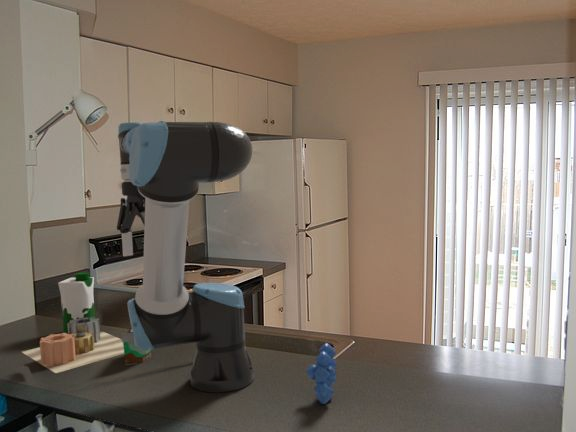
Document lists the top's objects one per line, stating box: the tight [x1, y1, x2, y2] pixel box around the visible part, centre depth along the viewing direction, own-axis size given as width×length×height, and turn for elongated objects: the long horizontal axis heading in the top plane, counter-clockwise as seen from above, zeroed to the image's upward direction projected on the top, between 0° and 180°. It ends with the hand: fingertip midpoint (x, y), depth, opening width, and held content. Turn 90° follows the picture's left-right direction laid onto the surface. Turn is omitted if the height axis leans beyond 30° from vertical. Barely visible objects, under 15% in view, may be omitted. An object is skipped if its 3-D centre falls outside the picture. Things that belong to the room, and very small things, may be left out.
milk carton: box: [57, 271, 96, 334], centre depth 170 cm, size 9×9×20 cm
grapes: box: [306, 342, 338, 405], centre depth 120 cm, size 12×7×12 cm, turn 164°
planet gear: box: [39, 332, 76, 366], centre depth 146 cm, size 8×8×6 cm
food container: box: [121, 328, 152, 366], centre depth 145 cm, size 12×6×10 cm, turn 179°
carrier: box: [21, 331, 124, 374], centre depth 154 cm, size 24×24×6 cm
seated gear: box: [67, 317, 101, 343], centre depth 161 cm, size 8×8×6 cm
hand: (140, 258), depth 152 cm, fingers open, 13 cm apart
